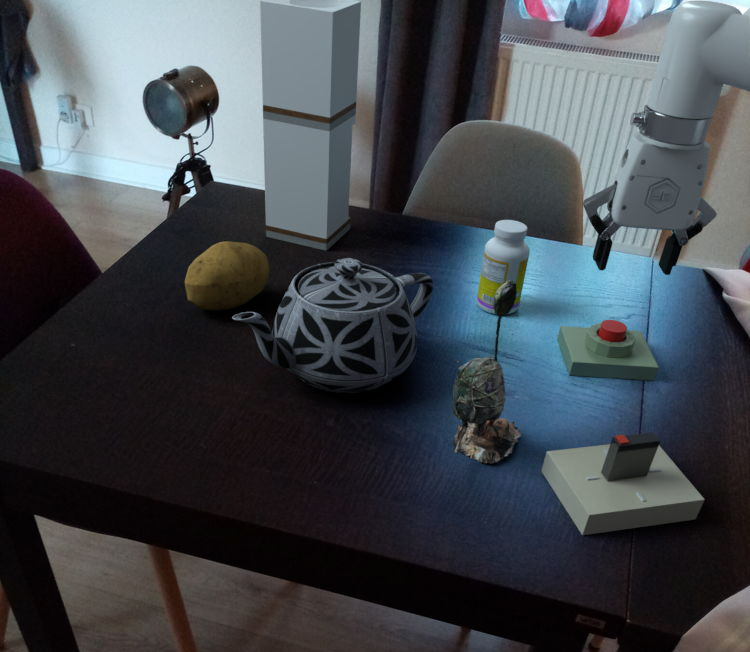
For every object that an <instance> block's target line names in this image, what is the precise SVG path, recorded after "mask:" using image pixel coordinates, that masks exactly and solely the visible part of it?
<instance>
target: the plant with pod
mask: <svg viewBox="0 0 750 652" xmlns="http://www.w3.org/2000/svg"><path fill="white" fill-rule="evenodd" d="M516 294H517V290H516V283H515V282H513V281H510V280H508V281H507V282H506V283H504V284H503V285H502V286H501V287H500V288H499V289H498V290H497V291H496V294H495V297H494V301H493V306H494V310H495V314H494V315H497V321H496V330H495V335H496V336H495V341H494V356H492V355H491V356H486V357H476V358H473V359H470V360H469V361H466V362H465V363H464V364H462V365H460V366H459V367H458V369H457V371H456V377H455V381H454V384H453V389H452V409H453V415H454V416H455V417H456V418H457V420H461V424H458V426H457V428H456V432H455V434H454V438H453V441H452V442H451V443H452V444H453V446H454V448H455V449H454V453H455V454H458V453H459V452H461V453H462V454H464V455H465V457H469V456H470V459H473V460H476V461H477V462H478V463H479V462H480V463H481V464H482V463H483V464H494V463H495V464H496V463H499V461H500V460H503V459H504V458H505V457H508V456H509V454H512V453H513V448H514V447H515V444H516V443H519V440H518V439H519V438H520V437H522V434H521V431H520V430H518V429H519V427H518V426H515V421H512V422H510V421H508V419H507V418H501V416H502V413H503V411H504V406H505V401H506V396H507V395H506V387H505V386H506V385H505V378H504V372H503V367H502V366H501V363H500V362H499V361H498V352H499V337H500V331H501V330H500V328H501V322H502V317H503V316H508V315H509V314H508V313H509V312H510V310H511V309H512V308H513V306H514V302H515V300H516ZM456 363H457V364H459V363H460V361H459V360H456Z"/></svg>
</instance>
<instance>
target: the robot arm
mask: <svg viewBox="0 0 750 652" xmlns="http://www.w3.org/2000/svg"><path fill="white" fill-rule="evenodd" d="M724 85H726V86H729V87H733V88H737V89H740V90H743V91H746V92H749V93H750V7H749V8H747V10H746V11H744V12H743V13H742V12H741V10H740V9H738V8H737V7H735V6H734V5H731V4H727V3H722V2H718V1H711V0H686V1H684V2H681V3H679V4H678V5H677V6H676V7H675V9H674V10H673V12H672V14H671V17H670V19H669V22H668V26H667V30H666V33H665V36H664V40H663V44H662V48H661V52H660V54H659V59H658V63H657V65H656V69H655V74H654V77H653V80H652V84H651V88H650V91H649V95H648V98H647V102H646V104H645V105H644V107H643V109H642V111H639V112H632V113H631V116H630V121H629V125H630V126H633V127H636V128H638V130H639V131H635V132H633V134H632V136H631V137H630V139H629V142H628V144H627V146H626V148H625V151H624V153H623V155H622V158H621V160H620V163H619V165H618V167H617V171H616V173H615V176H614V178H613V182H612V185H610V186H608V187H606V188H604V189H602V190H600V191H598V192H597V193H594V194H593V195H591V196H589V197H587V198H585V199H584V200H583V201H582V206H583V209H584V211H585V213H586V215H587V218H588V220H589V222H590V224H591V226H592V227H593V229H594V230H595V231H596V233H597V237H596V242H595V245H594V249H593V253H592V260H593V262H595V265H596V267H597V269H598V270H599V271H605V270H606V269H607V266H608V262H609V258H610V254H611V251H612V248H613V240H612V237H613V235H614V234H615V233H616V232H617V231H618V230H620V228H621V227H623V228H631V229H632V228H633V229H645V230H656V231H657V230H660V231H671V235H668V237H667V238H666V239H665V241H664V242H665V243H664V245H663V249H662V251H661V255H660V258H659V261H658V267H659V269H661V271H662V273H663V274H664V275H665V276H670V275H671V274H672V269H673V267H676V266H677V264H678V260H679V258H680V254H681V251H682V249H683V247H685V246H686V245H688V244H689V241H690V240H691V239H693V238H694V237H696V236H697V235H699V234H700V233H702V232H703V230H704V228H705V227H707V226H708V225H709V224H710V223H711V222H712V221H713V220H714V219H715V218H716V217H717V215H718V214H717V211H716V210H715V208H713V206H712V205H710V204H709V202H707V201H706V199H704V198H703V196H702V194H703V190H704V186H705V182H706V177H707V173H708V172H707V171H708V166H709V162H710V154H711V144H710V143H709V142H708V141H706V138H707V135H708V133H709V130H710V126H711V123H712V120H713V117H714V114H715V111H716V109H717V106H718V102H719V100H720V97H721V93H722V90H723V87H724ZM605 204H607V205H606V208H607V211H608V213H607V214H606V215H605V216H604V218H603V219H602V218H601V216H600V215H599V212H598V210H599V208H600V207H601V206H603V205H605ZM697 212H699V214H698V215H697V216H696V214H697Z"/></svg>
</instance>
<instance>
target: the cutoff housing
mask: <svg viewBox="0 0 750 652" xmlns="http://www.w3.org/2000/svg"><path fill="white" fill-rule="evenodd" d="M601 323H602V322H599V323H596V324H591V325H590V327H585V326H584V327H583V326H568V325H560V326H559V330H558V335H557V338H556V339H557V342H558V345H559V348H560V352H561V354H562V358H563V360H564V364H565V367H566V370H567V372H568V373H567V374H568V375H569V376H573V377H588V378H603V379H604V378H605V379H620V380H621V379H623V380H635V381H636V380H637V381H651V382H652V381H653V382H654V381H655V379H656V376H657V374H658V371H659V365H658V363H657V361H656V358H655V357H654V355H653V353H652V351H651V348H650V347H649V344H648V342H647V341H646V337H645V336H644V334H643V332H642V330H629V329H627V331H626V334H625V338H624V340H623V341H622V342H619V343H618V342H609V341H606V340H603V339H602V338H600V337H599V336H598V333H599V329H600V326H601Z"/></svg>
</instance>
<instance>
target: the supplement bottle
mask: <svg viewBox="0 0 750 652" xmlns="http://www.w3.org/2000/svg"><path fill="white" fill-rule="evenodd" d="M527 232H528V226H527V225H526V224H525V223H523V222H521V221H518V220H514V219H501V220H498V221H496V223H495V224H494V230H493V233H494V237H491V238H490V239H488V240H487V242H486V243H485V245H484V250H483V258H482V264H481V270H480V277H479V283H478V290H477V295H476V304H477V306H478V307H479V308H480V309H481V310H482V311H483V312H485V313H489V314H492V315H496V314H495V310H494V306H493V301H494V297H495V294H496V291H497V290H498V289H499V288H500V287H501V286H502V285H503V284H504V283H506V282H507V281H508V280H510V281H513V282H515V283H516V290H517V294H516V300H515V302H514V306H513V308H512V309H511V310H510V312H509V313H508V314H507V315H510V314H512V313H515V312H517V310H518V309H519V308H520V307H519V306H520V302H521V298H522V292H523V288H524V283H525V278H526V273H527V267H528V263H529V257H530V246H529V245H528V243H527V242H525V240H526V239H525V238H526V237H527V234H528V233H527Z"/></svg>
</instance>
